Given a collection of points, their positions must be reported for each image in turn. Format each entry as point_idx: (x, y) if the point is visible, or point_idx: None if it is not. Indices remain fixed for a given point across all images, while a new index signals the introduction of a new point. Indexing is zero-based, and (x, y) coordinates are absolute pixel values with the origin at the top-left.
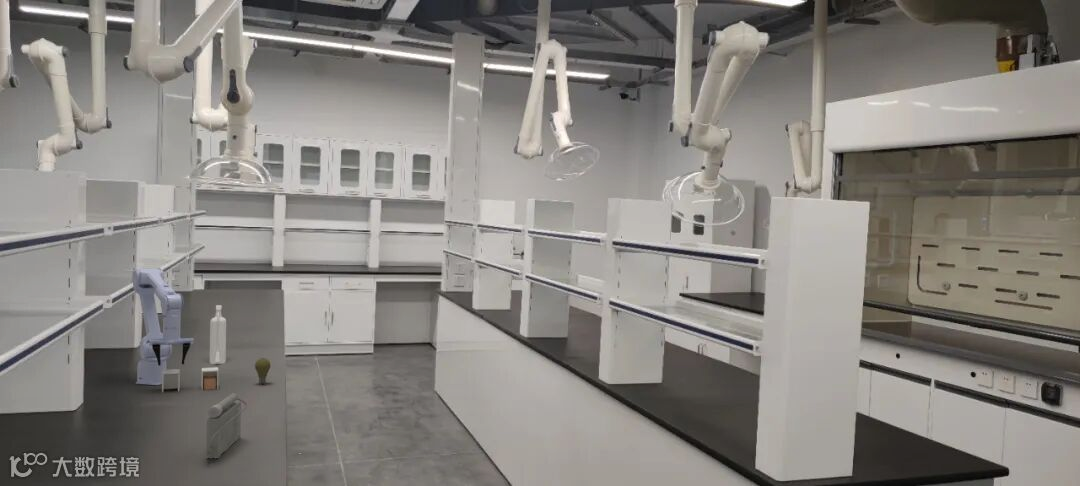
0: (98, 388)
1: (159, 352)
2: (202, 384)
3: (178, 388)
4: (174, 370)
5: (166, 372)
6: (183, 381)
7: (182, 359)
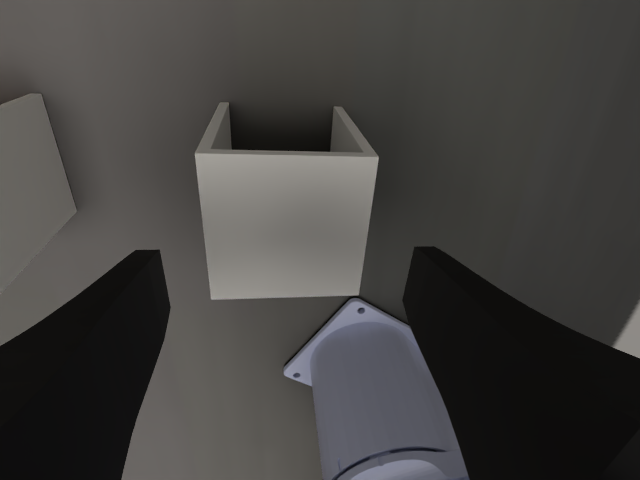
0: (613, 301)
1: (543, 355)
2: (5, 104)
3: (223, 108)
4: (256, 256)
5: (334, 180)
6: (220, 356)
7: (125, 282)
